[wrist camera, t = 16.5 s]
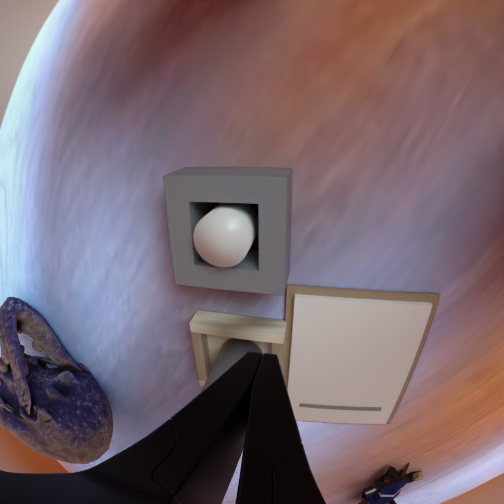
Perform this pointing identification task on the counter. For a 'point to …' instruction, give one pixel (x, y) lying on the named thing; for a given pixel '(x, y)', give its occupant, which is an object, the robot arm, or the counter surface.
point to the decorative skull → (49, 392)
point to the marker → (230, 357)
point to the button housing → (231, 191)
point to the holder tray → (233, 326)
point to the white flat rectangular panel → (352, 351)
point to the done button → (226, 234)
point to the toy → (389, 486)
